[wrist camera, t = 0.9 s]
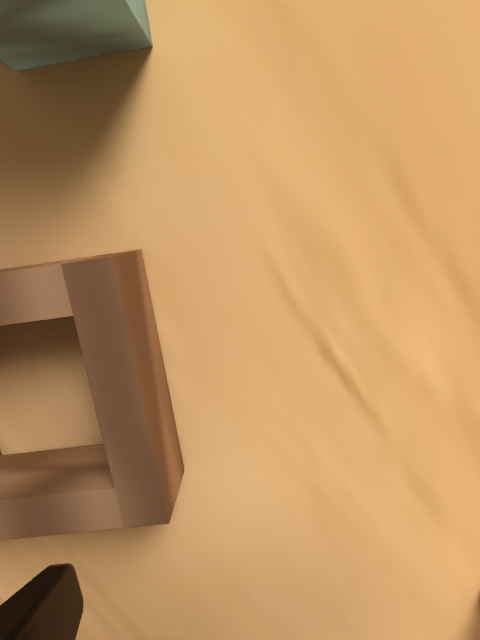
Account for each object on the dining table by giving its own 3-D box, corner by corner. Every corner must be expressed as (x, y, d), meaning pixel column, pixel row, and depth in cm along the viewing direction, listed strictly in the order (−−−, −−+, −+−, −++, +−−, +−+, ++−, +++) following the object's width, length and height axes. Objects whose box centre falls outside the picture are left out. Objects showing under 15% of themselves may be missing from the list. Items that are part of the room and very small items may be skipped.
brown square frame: (-24, 492, 23) (-82, 548, 19) (-92, 283, 20) (-175, 298, 16) (184, 469, 22) (169, 523, 18) (141, 249, 19) (112, 256, 15)
